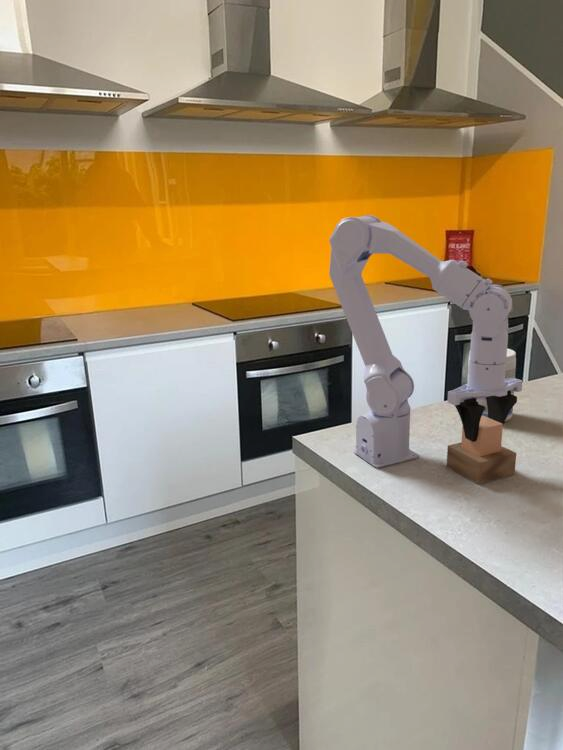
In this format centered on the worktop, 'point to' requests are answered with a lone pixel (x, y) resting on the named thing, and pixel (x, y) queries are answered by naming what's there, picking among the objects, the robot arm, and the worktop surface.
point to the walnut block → (481, 464)
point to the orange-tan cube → (485, 438)
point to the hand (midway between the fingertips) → (482, 436)
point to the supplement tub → (508, 374)
